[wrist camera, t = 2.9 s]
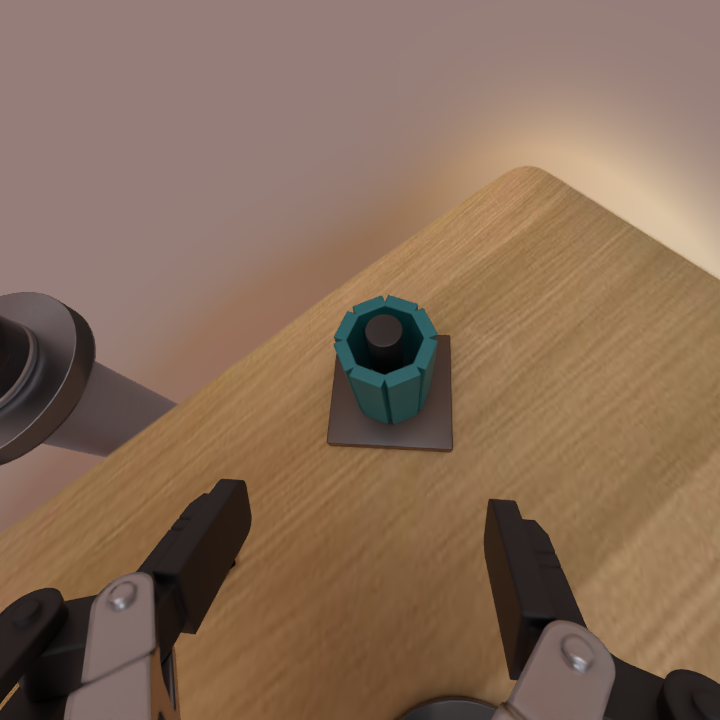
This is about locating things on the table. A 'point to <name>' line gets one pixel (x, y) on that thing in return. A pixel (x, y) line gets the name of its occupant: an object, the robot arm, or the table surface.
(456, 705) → the slate coaster
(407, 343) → the teal octagonal tube
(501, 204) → the table surface
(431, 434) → the holder
